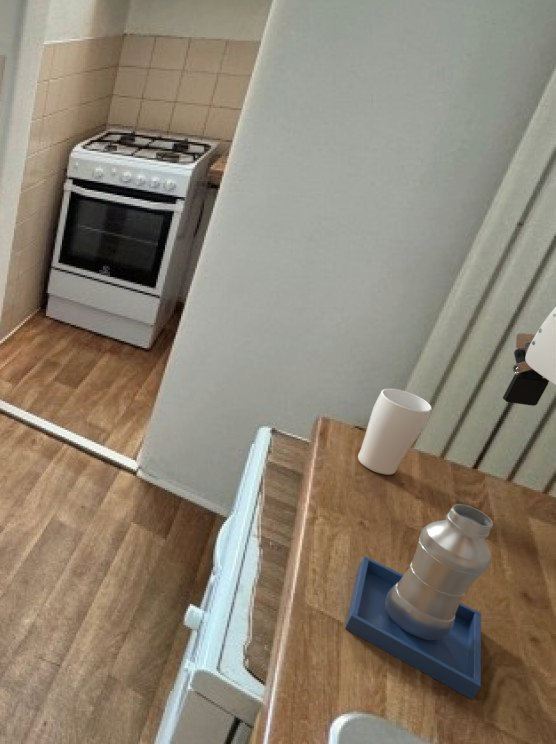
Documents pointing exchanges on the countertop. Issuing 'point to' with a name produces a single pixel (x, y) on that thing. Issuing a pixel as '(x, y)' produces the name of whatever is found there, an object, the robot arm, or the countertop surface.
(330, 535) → the countertop surface
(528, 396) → the robot arm
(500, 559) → the countertop surface
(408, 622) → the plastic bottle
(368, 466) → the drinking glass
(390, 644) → the blue tray
